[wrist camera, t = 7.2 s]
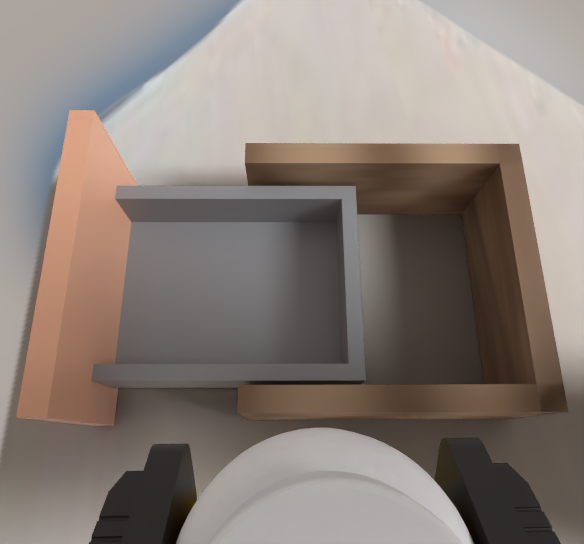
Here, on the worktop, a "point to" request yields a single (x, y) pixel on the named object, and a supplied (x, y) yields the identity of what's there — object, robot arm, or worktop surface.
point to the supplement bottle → (323, 496)
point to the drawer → (186, 286)
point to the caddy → (482, 267)
